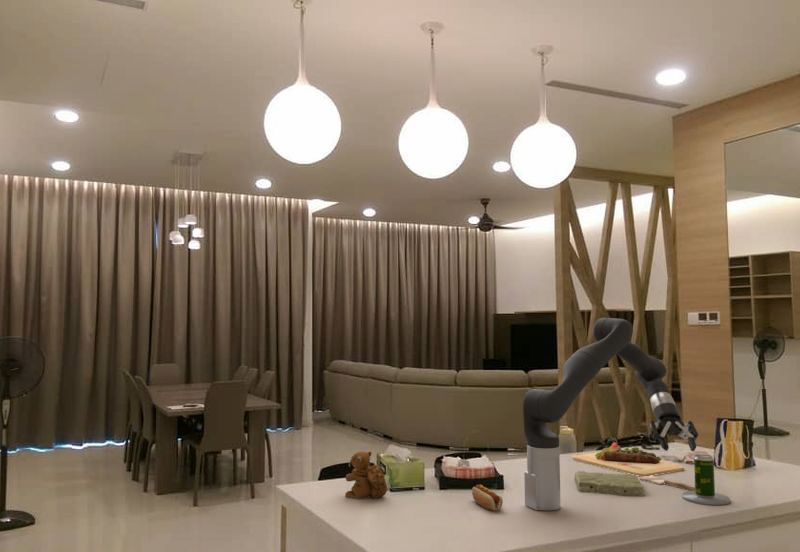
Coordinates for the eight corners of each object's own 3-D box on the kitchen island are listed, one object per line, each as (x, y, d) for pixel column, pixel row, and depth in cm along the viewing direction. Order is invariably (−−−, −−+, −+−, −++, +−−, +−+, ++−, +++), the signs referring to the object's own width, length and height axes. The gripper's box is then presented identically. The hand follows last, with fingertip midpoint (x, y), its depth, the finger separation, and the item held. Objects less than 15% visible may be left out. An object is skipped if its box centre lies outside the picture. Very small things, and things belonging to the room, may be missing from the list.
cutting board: (569, 460, 247) (568, 441, 248) (611, 454, 259) (610, 436, 259) (642, 479, 217) (642, 457, 217) (687, 471, 228) (686, 450, 229)
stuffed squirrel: (360, 489, 201) (360, 447, 202) (396, 496, 193) (396, 452, 194) (339, 496, 193) (340, 452, 194) (376, 503, 185) (376, 457, 186)
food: (468, 500, 189) (468, 483, 189) (485, 499, 190) (485, 482, 191) (488, 513, 175) (488, 495, 176) (506, 511, 177) (506, 493, 178)
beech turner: (711, 492, 198) (710, 488, 198) (699, 494, 195) (698, 490, 195) (651, 477, 217) (651, 473, 217) (639, 479, 214) (639, 476, 214)
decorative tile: (574, 480, 215) (574, 469, 215) (636, 483, 211) (636, 472, 211) (577, 494, 197) (577, 482, 197) (645, 498, 193) (645, 486, 193)
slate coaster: (706, 507, 181) (706, 504, 181) (672, 495, 193) (672, 493, 193) (740, 502, 186) (740, 500, 186) (705, 491, 198) (705, 489, 198)
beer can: (709, 493, 192) (708, 453, 193) (718, 498, 187) (717, 457, 188) (692, 493, 192) (690, 453, 193) (700, 498, 187) (699, 457, 188)
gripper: (646, 401, 212) (661, 442, 199) (689, 402, 212) (706, 442, 199) (640, 415, 216) (654, 456, 204) (682, 416, 216) (699, 456, 204)
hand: (680, 449), depth 202 cm, fingers open, 8 cm apart
